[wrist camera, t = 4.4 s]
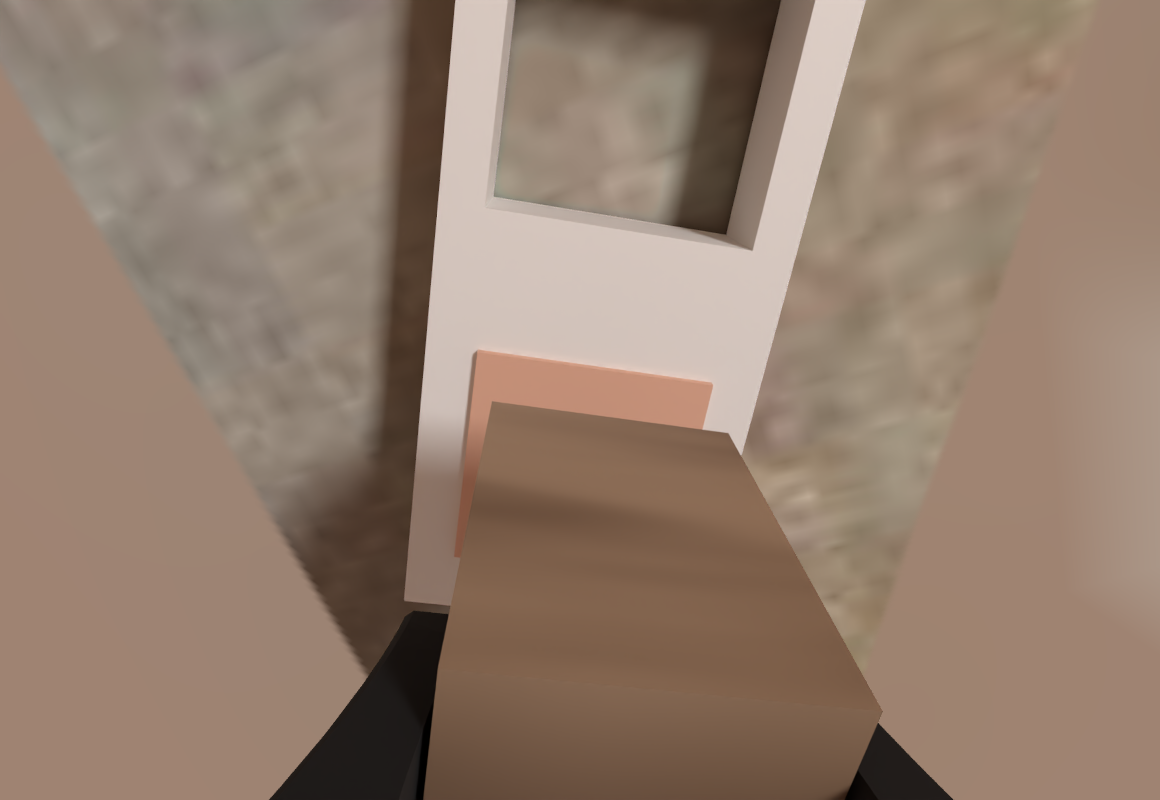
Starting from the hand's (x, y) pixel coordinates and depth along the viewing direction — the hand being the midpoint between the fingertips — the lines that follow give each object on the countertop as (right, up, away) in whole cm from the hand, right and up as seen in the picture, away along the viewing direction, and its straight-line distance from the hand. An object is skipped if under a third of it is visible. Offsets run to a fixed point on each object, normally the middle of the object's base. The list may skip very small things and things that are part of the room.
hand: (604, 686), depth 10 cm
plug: (0, +2, +4) cm, 4 cm away
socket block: (0, +7, +8) cm, 11 cm away
